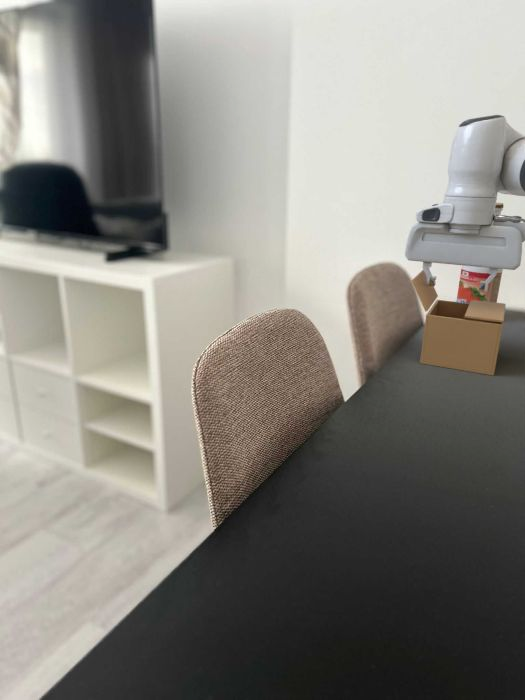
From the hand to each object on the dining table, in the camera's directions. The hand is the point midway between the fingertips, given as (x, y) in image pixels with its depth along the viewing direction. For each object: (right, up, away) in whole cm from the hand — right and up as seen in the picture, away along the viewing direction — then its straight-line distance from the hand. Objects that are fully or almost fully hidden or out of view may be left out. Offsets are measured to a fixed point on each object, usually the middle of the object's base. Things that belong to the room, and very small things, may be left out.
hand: (456, 288), depth 97 cm
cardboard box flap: (-5, 0, +2) cm, 5 cm away
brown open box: (+2, -13, +4) cm, 14 cm away
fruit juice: (+17, -3, +33) cm, 38 cm away
